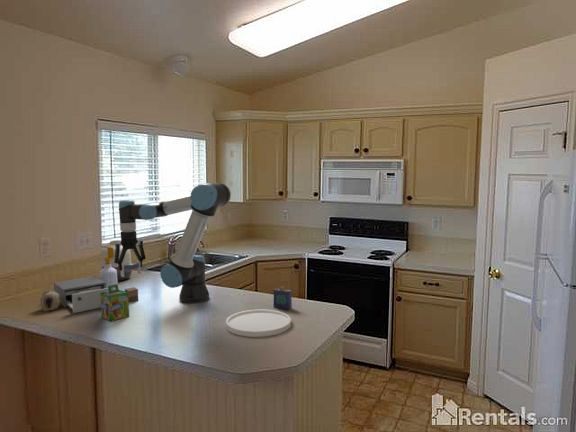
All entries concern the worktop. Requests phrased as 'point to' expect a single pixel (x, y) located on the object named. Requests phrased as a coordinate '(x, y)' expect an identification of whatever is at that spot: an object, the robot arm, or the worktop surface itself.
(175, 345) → the worktop surface
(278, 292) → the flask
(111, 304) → the chalk box
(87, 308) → the grey drawer
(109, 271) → the soap bottle
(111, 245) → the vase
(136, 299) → the block
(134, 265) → the disc
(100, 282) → the housing
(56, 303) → the garlic bulb
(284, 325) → the plate
